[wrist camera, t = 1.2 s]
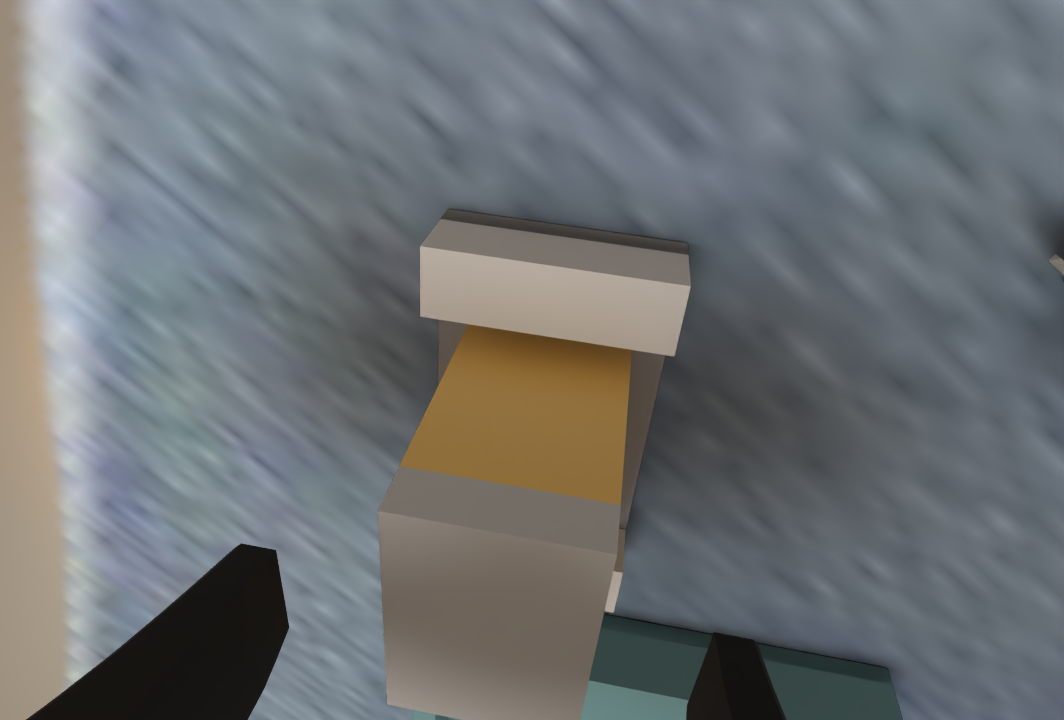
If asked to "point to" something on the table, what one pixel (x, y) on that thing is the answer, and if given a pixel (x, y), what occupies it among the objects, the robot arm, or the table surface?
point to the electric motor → (1057, 263)
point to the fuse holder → (562, 303)
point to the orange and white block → (505, 529)
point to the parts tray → (675, 661)
